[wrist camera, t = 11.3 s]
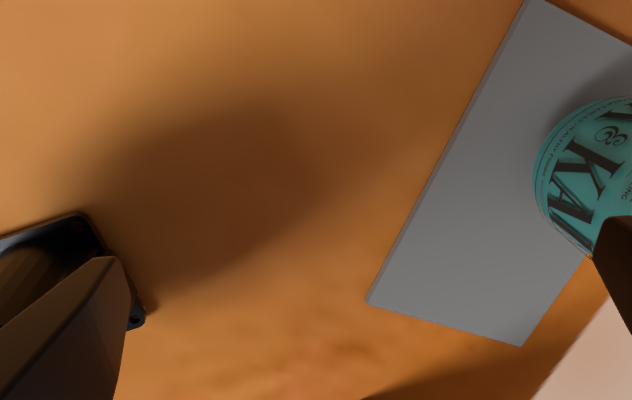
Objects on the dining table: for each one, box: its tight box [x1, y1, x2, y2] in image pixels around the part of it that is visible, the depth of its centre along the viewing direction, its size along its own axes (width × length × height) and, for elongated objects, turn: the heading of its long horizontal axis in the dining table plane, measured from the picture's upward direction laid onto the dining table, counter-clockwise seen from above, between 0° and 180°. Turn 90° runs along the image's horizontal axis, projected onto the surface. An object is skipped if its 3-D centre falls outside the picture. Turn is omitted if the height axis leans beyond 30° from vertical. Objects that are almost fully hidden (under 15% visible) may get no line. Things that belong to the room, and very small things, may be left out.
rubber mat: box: [365, 0, 632, 347], centre depth 24 cm, size 16×10×1 cm, turn 157°
